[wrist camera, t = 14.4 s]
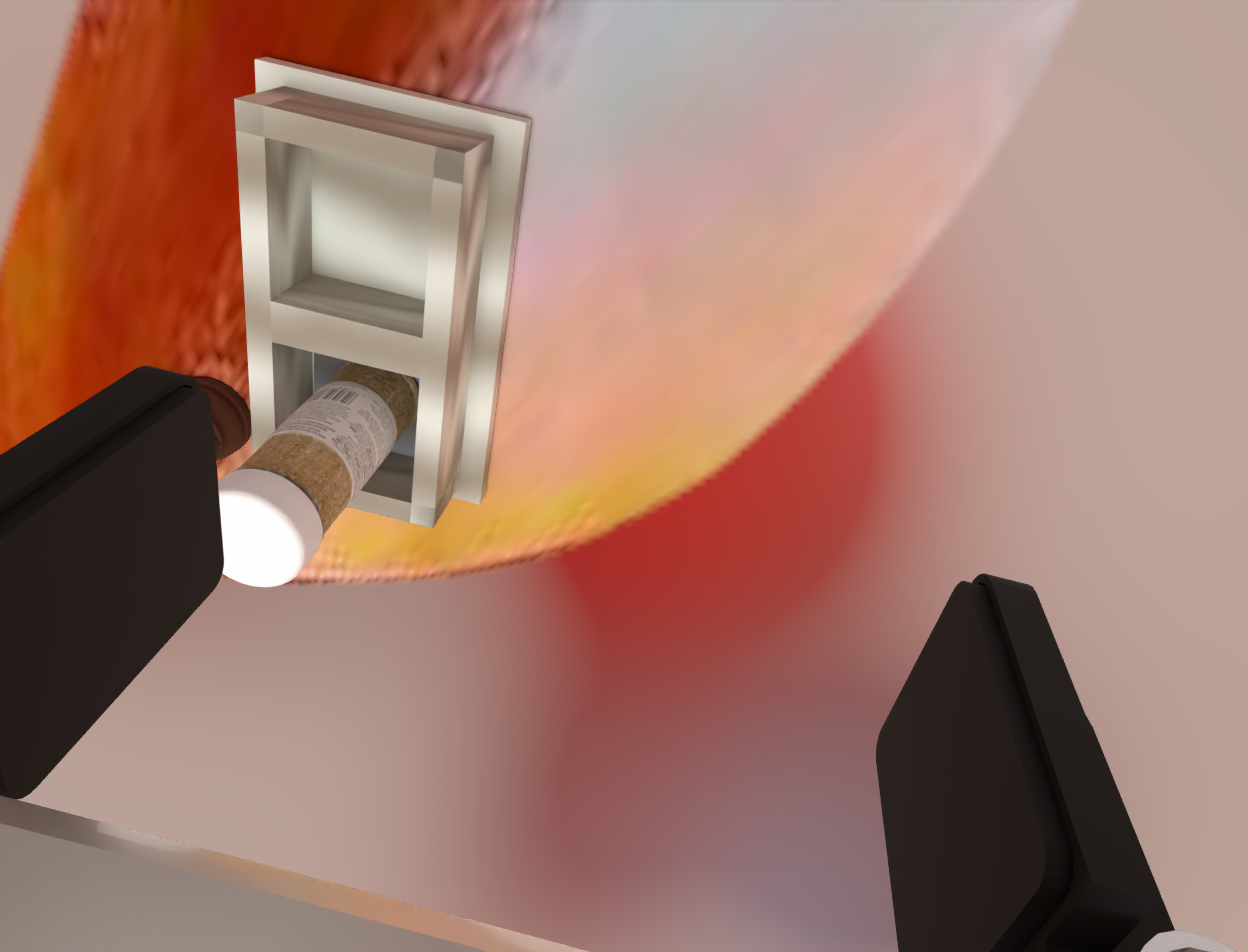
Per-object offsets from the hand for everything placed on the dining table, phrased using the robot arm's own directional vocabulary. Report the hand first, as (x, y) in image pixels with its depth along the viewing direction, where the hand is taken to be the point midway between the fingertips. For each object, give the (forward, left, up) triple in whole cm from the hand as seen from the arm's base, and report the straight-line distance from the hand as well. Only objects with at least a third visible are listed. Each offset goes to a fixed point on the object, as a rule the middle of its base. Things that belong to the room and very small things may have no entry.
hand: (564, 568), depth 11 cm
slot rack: (+11, -14, -30) cm, 35 cm away
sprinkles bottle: (+15, -14, -29) cm, 36 cm away
